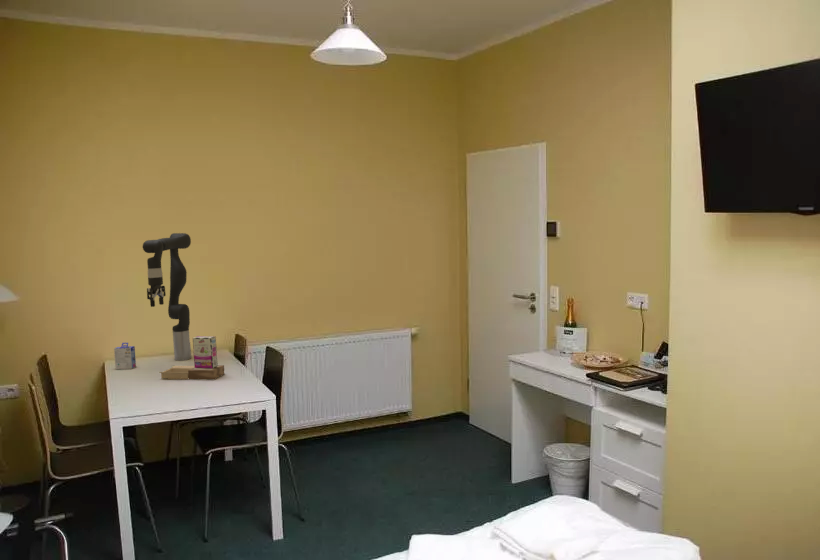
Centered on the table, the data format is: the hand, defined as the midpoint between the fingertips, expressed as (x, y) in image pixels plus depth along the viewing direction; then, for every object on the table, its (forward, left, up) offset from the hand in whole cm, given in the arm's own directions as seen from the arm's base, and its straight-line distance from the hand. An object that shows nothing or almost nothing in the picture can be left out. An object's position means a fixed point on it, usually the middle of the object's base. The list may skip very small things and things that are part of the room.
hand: (157, 305), depth 359 cm
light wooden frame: (+14, +19, -36) cm, 43 cm away
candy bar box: (+14, +34, -31) cm, 49 cm away
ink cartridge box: (-2, -23, -36) cm, 43 cm away
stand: (+14, +34, -36) cm, 52 cm away
